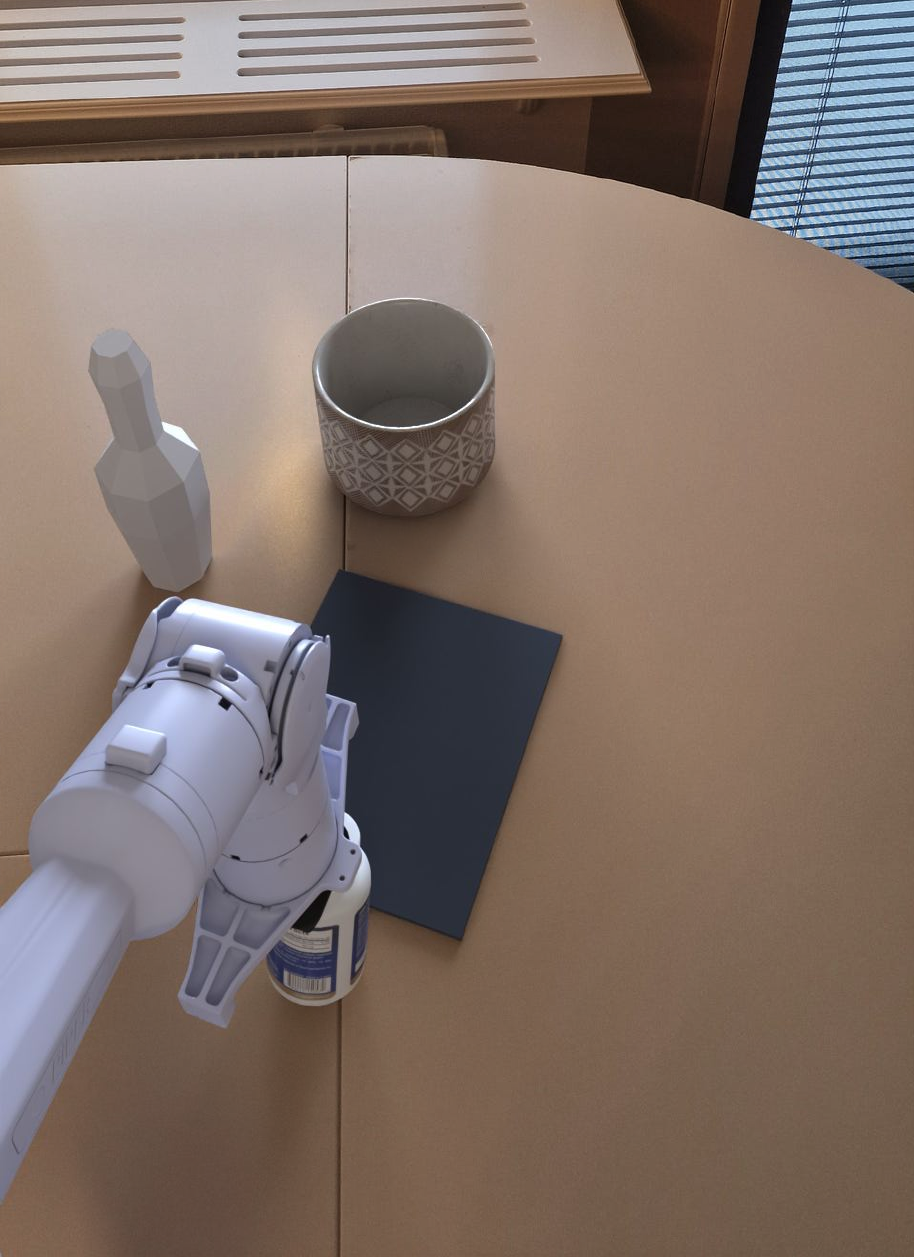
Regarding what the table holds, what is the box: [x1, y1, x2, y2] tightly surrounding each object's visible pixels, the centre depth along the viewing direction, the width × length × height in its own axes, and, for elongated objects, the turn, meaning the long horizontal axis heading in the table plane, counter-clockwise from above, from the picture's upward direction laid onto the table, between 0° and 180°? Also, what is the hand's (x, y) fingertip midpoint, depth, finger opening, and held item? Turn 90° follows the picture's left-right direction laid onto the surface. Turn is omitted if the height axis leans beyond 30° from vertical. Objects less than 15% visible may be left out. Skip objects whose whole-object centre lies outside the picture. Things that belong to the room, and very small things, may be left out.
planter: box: [311, 297, 496, 517], centre depth 93 cm, size 13×13×10 cm
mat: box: [309, 568, 564, 942], centre depth 80 cm, size 20×16×1 cm
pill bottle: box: [265, 813, 371, 1007], centre depth 68 cm, size 5×5×10 cm
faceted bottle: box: [87, 327, 213, 593], centre depth 82 cm, size 6×6×22 cm
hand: (296, 916), depth 64 cm, fingers closed, pressing on pill bottle
